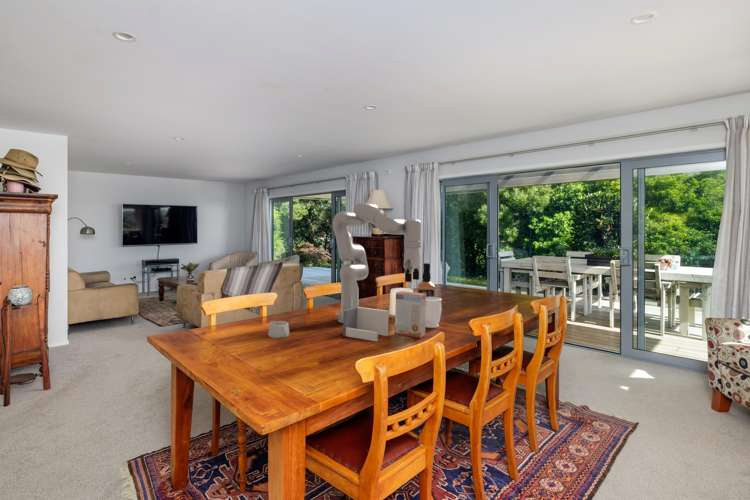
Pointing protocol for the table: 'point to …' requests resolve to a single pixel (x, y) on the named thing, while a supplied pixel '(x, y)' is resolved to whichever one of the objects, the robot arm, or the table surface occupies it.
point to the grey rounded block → (278, 329)
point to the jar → (433, 311)
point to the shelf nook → (365, 323)
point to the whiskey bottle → (426, 282)
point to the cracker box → (410, 314)
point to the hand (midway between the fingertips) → (412, 280)
